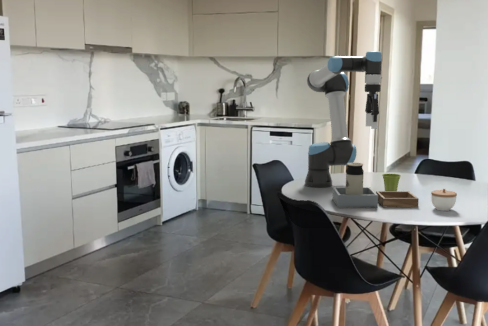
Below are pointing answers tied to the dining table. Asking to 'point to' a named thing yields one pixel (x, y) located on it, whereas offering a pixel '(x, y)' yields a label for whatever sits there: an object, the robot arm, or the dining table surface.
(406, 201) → the walnut frame
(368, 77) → the robot arm
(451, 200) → the lidded jar
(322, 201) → the dining table surface
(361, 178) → the travel mug
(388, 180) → the plant pot
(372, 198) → the slate bin
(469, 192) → the dining table surface
